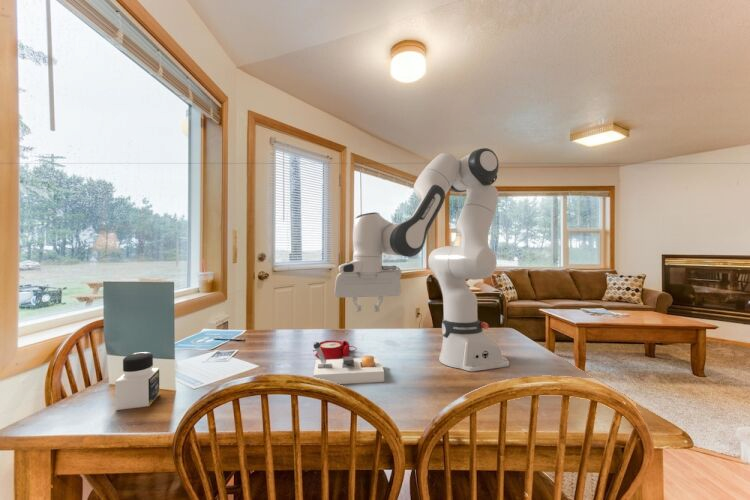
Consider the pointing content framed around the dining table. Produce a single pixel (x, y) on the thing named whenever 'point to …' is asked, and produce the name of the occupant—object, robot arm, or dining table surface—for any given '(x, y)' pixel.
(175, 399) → the dining table surface
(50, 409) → the dining table surface
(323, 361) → the lever
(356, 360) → the panel
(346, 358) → the rocker
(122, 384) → the medicine bottle
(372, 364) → the button
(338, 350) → the alarm clock
